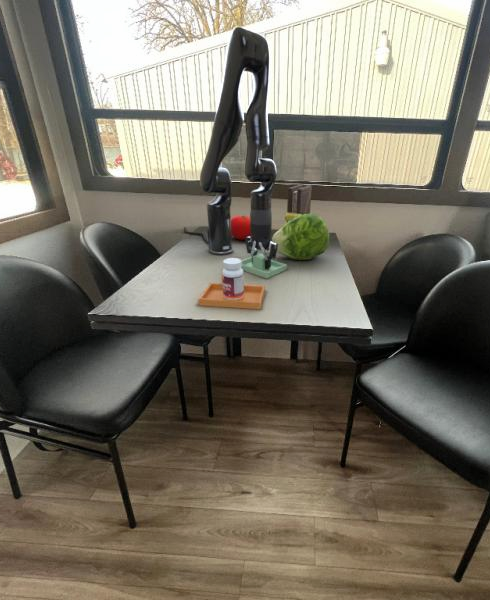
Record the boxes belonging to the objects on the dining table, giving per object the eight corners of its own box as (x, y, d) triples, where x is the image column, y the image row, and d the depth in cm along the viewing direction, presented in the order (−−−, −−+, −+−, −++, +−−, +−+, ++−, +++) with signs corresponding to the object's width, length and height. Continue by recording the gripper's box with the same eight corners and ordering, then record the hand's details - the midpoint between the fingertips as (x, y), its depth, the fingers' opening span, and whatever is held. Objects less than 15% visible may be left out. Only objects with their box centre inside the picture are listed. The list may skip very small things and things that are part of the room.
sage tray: (235, 267, 111) (234, 262, 110) (255, 260, 120) (255, 255, 119) (267, 278, 103) (267, 273, 102) (286, 269, 112) (286, 264, 111)
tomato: (233, 234, 153) (233, 212, 147) (259, 236, 151) (259, 213, 146) (226, 241, 142) (224, 216, 137) (254, 243, 140) (253, 218, 135)
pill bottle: (219, 296, 88) (216, 260, 83) (234, 290, 93) (233, 255, 87) (232, 303, 85) (230, 266, 80) (248, 296, 89) (247, 260, 84)
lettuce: (275, 250, 134) (268, 211, 122) (326, 243, 133) (324, 203, 121) (275, 273, 119) (268, 231, 108) (333, 265, 118) (332, 222, 107)
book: (296, 233, 160) (298, 184, 149) (311, 235, 157) (315, 185, 146) (281, 244, 141) (283, 188, 130) (298, 246, 139) (301, 190, 127)
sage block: (252, 267, 111) (252, 256, 109) (260, 264, 114) (260, 253, 112) (261, 270, 108) (261, 258, 106) (269, 267, 112) (269, 255, 110)
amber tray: (198, 305, 84) (198, 299, 83) (210, 288, 94) (210, 282, 93) (260, 309, 83) (260, 303, 82) (265, 291, 94) (265, 285, 93)
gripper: (283, 223, 102) (282, 268, 110) (252, 216, 110) (253, 260, 117) (270, 226, 97) (269, 274, 105) (238, 219, 104) (240, 265, 112)
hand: (261, 266), depth 111 cm, fingers open, 5 cm apart
